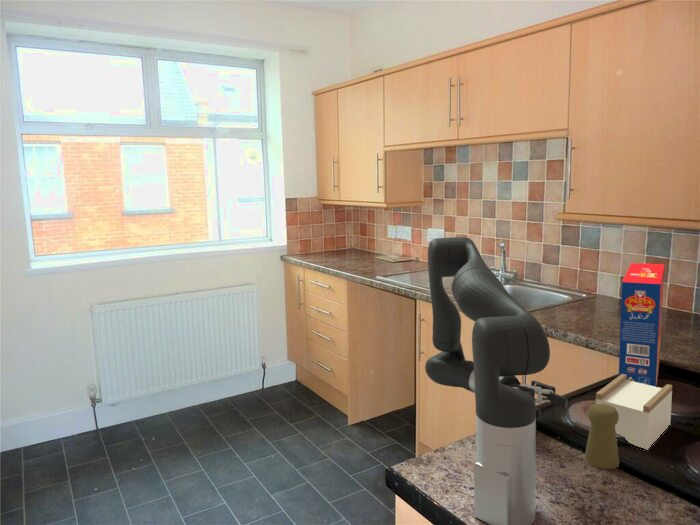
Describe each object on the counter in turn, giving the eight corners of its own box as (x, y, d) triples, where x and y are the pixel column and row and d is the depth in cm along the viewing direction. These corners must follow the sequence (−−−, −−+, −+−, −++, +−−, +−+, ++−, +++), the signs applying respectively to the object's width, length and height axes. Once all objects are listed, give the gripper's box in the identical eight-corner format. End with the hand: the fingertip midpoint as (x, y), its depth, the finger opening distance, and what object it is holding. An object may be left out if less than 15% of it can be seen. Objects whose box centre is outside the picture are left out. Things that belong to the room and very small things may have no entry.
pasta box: (655, 397, 123) (660, 284, 119) (618, 391, 127) (621, 281, 123) (659, 360, 146) (664, 264, 142) (628, 356, 150) (631, 263, 146)
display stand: (647, 451, 100) (649, 407, 98) (594, 434, 107) (595, 393, 106) (670, 425, 109) (672, 385, 108) (620, 411, 116) (622, 373, 115)
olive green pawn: (608, 451, 101) (610, 398, 99) (626, 468, 95) (628, 412, 93) (578, 453, 100) (579, 400, 99) (594, 470, 94) (595, 414, 93)
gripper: (471, 377, 115) (531, 401, 101) (514, 362, 122) (575, 383, 109) (472, 408, 116) (531, 436, 102) (514, 392, 123) (574, 416, 110)
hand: (553, 408), depth 106 cm, fingers open, 8 cm apart
